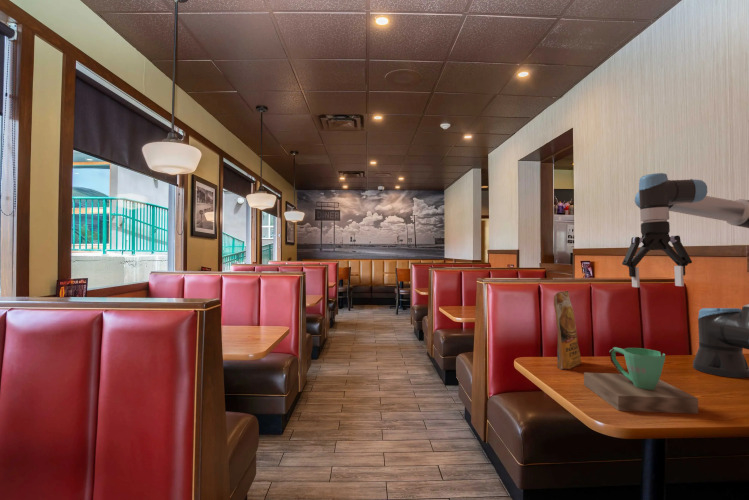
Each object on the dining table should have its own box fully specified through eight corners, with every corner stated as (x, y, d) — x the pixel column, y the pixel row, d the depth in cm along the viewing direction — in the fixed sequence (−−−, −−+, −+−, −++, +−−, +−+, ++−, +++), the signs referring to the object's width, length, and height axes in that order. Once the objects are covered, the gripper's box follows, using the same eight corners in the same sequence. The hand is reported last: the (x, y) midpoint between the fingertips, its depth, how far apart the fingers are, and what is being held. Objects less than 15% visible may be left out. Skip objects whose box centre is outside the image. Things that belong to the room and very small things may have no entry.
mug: (673, 389, 105) (672, 354, 105) (652, 395, 101) (652, 358, 101) (620, 374, 119) (620, 343, 119) (600, 378, 114) (600, 346, 115)
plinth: (649, 387, 119) (649, 374, 119) (698, 413, 99) (698, 398, 99) (584, 385, 120) (583, 372, 121) (618, 410, 101) (618, 395, 101)
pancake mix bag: (547, 367, 139) (547, 292, 140) (567, 358, 152) (567, 289, 152) (566, 372, 134) (565, 294, 135) (585, 362, 147) (585, 290, 147)
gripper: (685, 221, 125) (688, 284, 124) (608, 224, 126) (611, 286, 126) (704, 219, 117) (707, 286, 117) (621, 222, 119) (624, 288, 119)
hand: (657, 286), depth 122 cm, fingers open, 13 cm apart
